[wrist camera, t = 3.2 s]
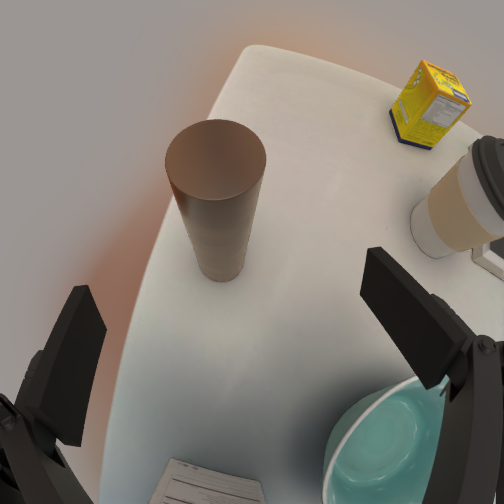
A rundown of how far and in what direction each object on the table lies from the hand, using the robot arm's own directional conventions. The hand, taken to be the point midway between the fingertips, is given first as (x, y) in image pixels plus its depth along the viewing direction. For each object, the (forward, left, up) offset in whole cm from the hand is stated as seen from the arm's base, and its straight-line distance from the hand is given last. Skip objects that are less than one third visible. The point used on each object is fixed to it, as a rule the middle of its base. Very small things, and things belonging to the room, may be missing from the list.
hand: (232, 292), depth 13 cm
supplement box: (+31, +15, -13) cm, 36 cm away
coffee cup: (+25, +1, -13) cm, 28 cm away
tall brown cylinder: (+1, +5, -13) cm, 14 cm away
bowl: (+9, -17, -13) cm, 23 cm away
